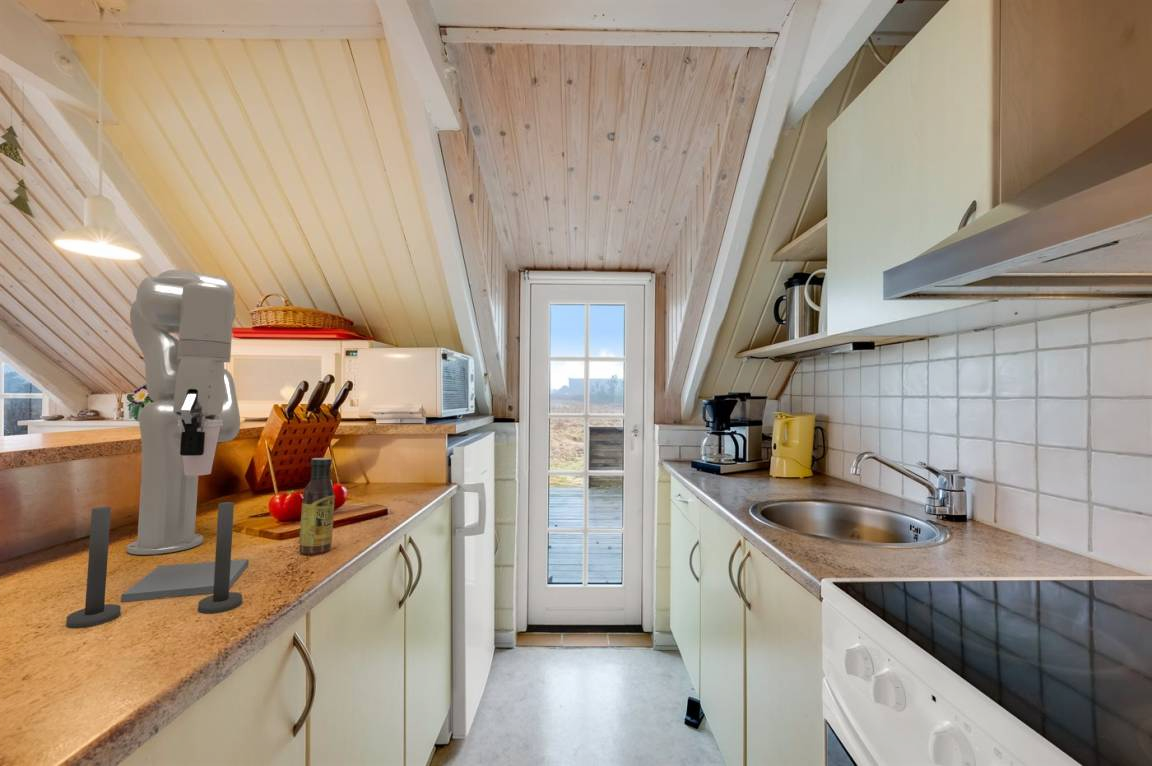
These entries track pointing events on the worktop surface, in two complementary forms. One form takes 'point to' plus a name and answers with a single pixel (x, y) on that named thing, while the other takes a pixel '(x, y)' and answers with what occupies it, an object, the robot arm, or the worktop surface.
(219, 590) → the post
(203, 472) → the smoothie
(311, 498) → the sauce bottle
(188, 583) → the slate board
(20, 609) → the worktop surface
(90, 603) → the post
